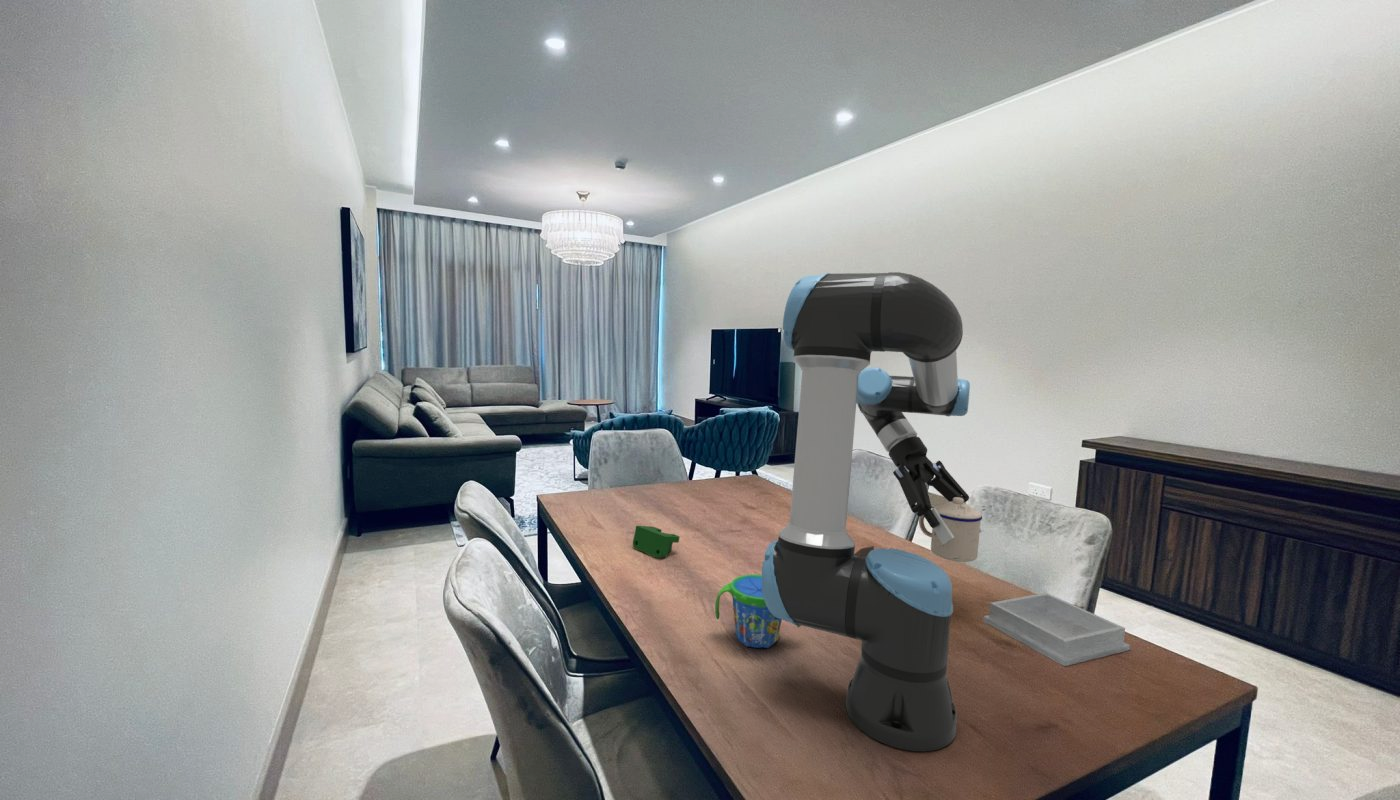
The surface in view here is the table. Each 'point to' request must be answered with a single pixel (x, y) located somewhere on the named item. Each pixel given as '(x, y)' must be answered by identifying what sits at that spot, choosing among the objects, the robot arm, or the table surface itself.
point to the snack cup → (751, 612)
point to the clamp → (653, 541)
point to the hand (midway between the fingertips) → (963, 537)
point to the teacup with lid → (956, 531)
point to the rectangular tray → (1057, 628)
